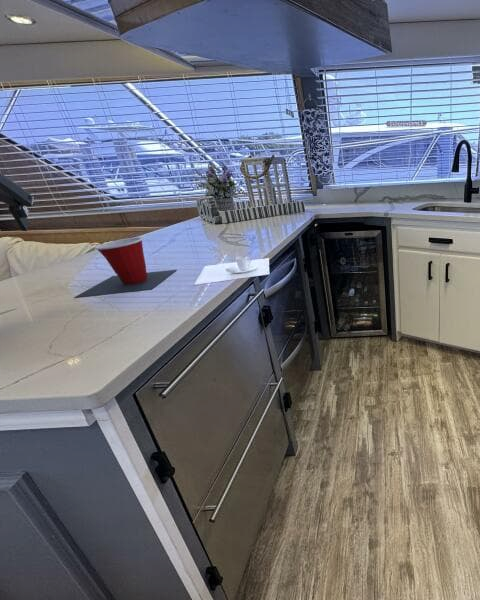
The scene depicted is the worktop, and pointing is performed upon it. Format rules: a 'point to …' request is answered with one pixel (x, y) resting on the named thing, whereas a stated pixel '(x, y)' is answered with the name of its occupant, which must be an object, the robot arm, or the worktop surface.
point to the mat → (117, 286)
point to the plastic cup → (126, 259)
